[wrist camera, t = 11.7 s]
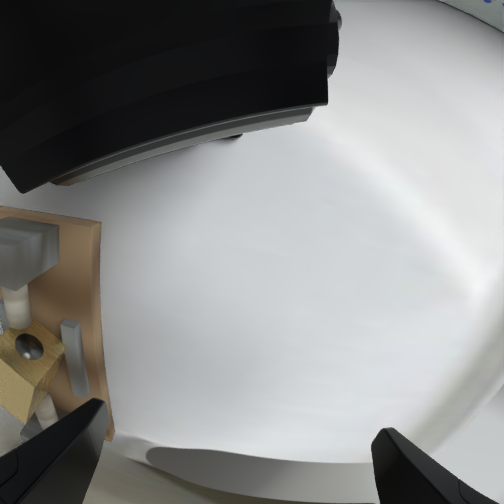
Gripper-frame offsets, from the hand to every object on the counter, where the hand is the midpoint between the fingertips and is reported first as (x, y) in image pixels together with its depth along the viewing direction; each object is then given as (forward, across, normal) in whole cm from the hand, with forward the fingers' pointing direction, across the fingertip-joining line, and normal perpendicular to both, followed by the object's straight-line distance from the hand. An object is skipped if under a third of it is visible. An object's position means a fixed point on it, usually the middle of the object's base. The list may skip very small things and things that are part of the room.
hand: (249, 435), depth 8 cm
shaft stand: (+12, +15, +8) cm, 21 cm away
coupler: (+10, +15, +8) cm, 19 cm away
